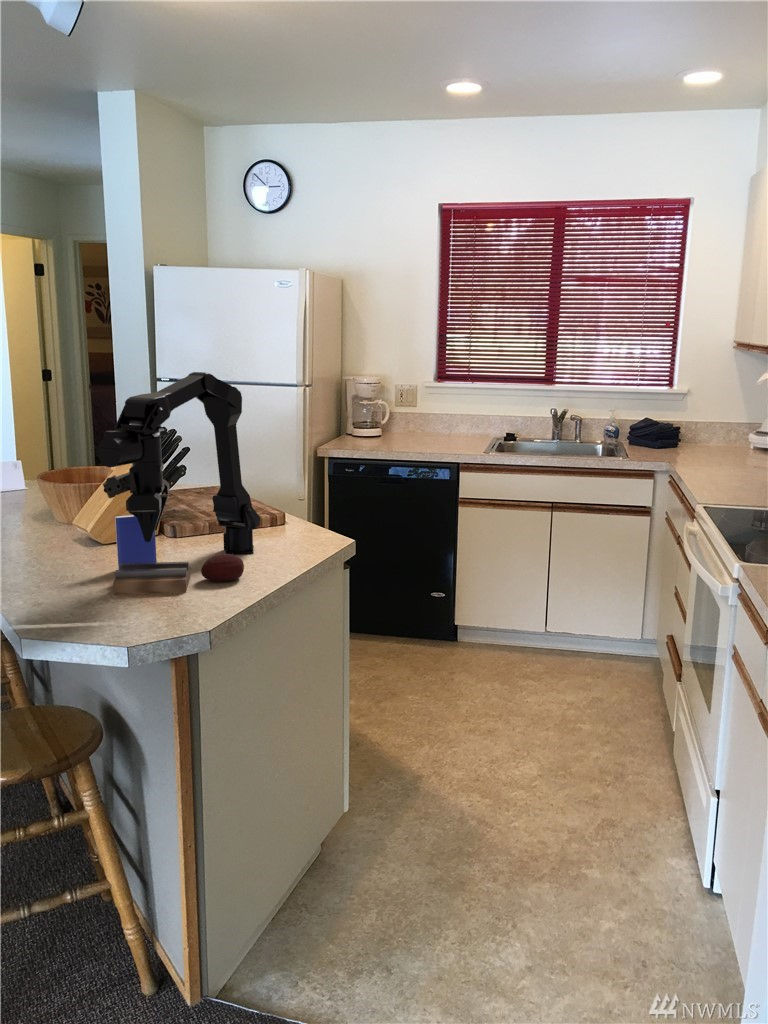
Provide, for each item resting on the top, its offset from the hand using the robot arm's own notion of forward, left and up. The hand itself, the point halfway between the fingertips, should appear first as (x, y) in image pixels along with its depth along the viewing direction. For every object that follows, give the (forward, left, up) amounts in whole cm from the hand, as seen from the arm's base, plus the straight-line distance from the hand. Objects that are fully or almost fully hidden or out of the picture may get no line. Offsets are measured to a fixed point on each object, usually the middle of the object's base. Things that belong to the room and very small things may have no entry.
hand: (151, 535), depth 162 cm
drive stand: (0, 0, -11) cm, 11 cm away
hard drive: (+5, -13, -11) cm, 18 cm away
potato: (-14, -3, -11) cm, 18 cm away
